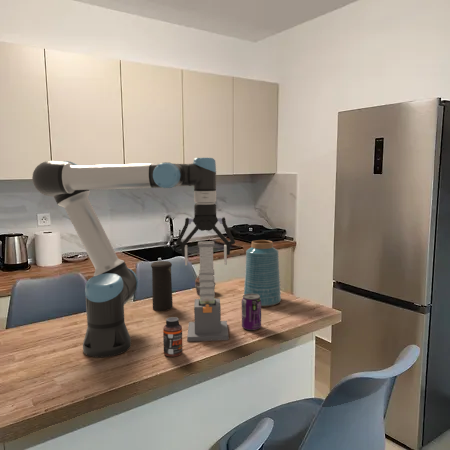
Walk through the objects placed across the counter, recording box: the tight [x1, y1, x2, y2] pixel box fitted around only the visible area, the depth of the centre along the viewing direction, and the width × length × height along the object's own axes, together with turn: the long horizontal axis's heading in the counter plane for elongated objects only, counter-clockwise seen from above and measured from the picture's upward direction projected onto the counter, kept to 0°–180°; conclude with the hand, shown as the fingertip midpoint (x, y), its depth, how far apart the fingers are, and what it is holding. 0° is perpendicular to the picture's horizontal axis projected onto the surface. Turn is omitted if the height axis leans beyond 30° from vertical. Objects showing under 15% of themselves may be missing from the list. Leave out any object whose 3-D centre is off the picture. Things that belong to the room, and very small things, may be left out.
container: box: [150, 260, 174, 312], centre depth 170 cm, size 9×9×20 cm
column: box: [197, 240, 216, 306], centre depth 142 cm, size 6×6×23 cm
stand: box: [186, 298, 229, 342], centre depth 144 cm, size 14×14×12 cm
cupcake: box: [194, 274, 216, 297], centre depth 190 cm, size 10×10×10 cm
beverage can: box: [241, 294, 262, 331], centre depth 148 cm, size 7×7×12 cm
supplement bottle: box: [162, 316, 183, 358], centre depth 127 cm, size 6×6×11 cm
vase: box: [243, 239, 282, 308], centre depth 176 cm, size 16×16×27 cm
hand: (205, 264), depth 141 cm, fingers open, 13 cm apart
